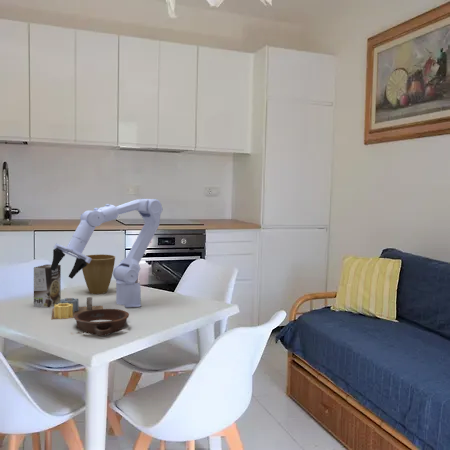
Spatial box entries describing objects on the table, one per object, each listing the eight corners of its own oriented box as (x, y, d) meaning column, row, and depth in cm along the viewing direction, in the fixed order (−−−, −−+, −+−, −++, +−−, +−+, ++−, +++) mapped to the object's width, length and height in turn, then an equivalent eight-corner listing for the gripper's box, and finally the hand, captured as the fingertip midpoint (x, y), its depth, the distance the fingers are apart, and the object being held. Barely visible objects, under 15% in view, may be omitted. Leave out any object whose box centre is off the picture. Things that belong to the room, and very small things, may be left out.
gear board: (102, 308, 185) (102, 294, 185) (105, 319, 170) (105, 303, 170) (52, 311, 180) (52, 296, 179) (51, 322, 164) (51, 306, 164)
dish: (123, 318, 172) (123, 305, 172) (134, 336, 152) (134, 321, 152) (71, 322, 166) (71, 308, 166) (76, 342, 146) (76, 325, 145)
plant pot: (82, 289, 220) (82, 254, 218) (115, 288, 222) (115, 254, 221) (78, 296, 205) (78, 259, 204) (114, 295, 208) (114, 258, 207)
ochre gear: (72, 313, 173) (72, 302, 172) (73, 318, 167) (73, 306, 166) (54, 314, 171) (54, 303, 170) (54, 319, 165) (53, 307, 165)
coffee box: (48, 310, 181) (48, 268, 179) (33, 309, 182) (32, 267, 181) (61, 305, 190) (61, 264, 188) (46, 304, 191) (46, 263, 190)
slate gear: (78, 308, 181) (78, 297, 180) (78, 312, 175) (78, 301, 174) (60, 309, 179) (60, 298, 178) (60, 313, 173) (60, 302, 173)
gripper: (58, 229, 174) (39, 263, 171) (92, 244, 171) (74, 278, 167) (66, 235, 181) (48, 268, 177) (99, 249, 178) (81, 283, 174)
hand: (61, 273), depth 173 cm, fingers open, 7 cm apart
